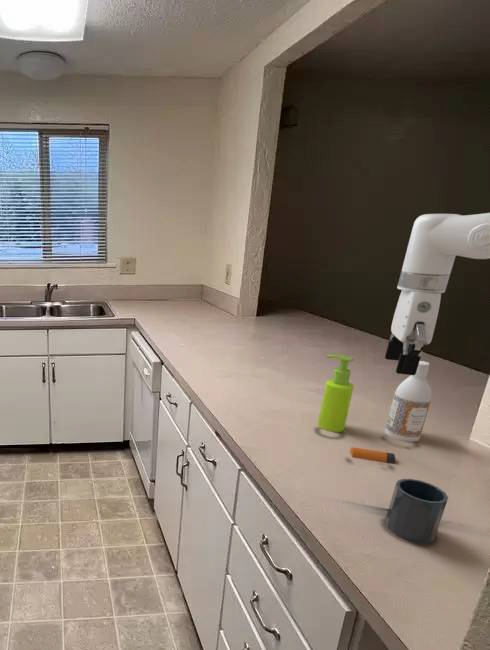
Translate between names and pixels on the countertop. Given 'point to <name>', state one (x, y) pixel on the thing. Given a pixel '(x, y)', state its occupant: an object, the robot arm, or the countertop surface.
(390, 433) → the bath foam
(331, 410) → the soap dispenser
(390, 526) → the holder
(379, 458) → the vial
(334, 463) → the countertop surface
